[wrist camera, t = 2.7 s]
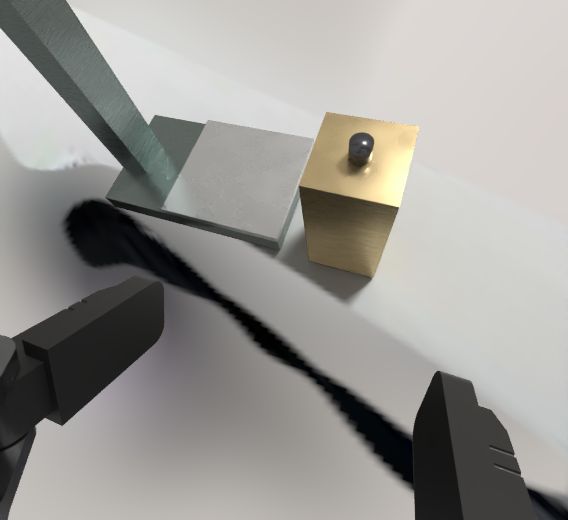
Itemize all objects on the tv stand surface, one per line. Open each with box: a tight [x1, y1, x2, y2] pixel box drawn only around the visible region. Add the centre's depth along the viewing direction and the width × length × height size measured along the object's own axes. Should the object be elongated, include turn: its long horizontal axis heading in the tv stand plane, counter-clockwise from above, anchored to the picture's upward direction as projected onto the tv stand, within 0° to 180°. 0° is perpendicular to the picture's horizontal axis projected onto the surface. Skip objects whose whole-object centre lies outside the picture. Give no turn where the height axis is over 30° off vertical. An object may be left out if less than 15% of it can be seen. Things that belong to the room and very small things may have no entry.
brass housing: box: [299, 112, 419, 278], centre depth 21 cm, size 5×5×11 cm
